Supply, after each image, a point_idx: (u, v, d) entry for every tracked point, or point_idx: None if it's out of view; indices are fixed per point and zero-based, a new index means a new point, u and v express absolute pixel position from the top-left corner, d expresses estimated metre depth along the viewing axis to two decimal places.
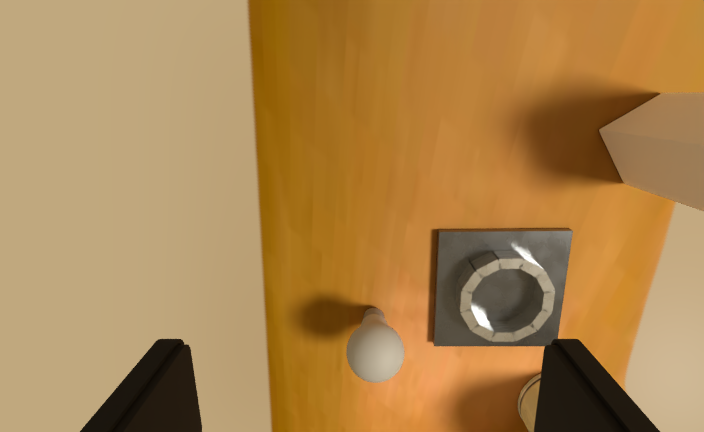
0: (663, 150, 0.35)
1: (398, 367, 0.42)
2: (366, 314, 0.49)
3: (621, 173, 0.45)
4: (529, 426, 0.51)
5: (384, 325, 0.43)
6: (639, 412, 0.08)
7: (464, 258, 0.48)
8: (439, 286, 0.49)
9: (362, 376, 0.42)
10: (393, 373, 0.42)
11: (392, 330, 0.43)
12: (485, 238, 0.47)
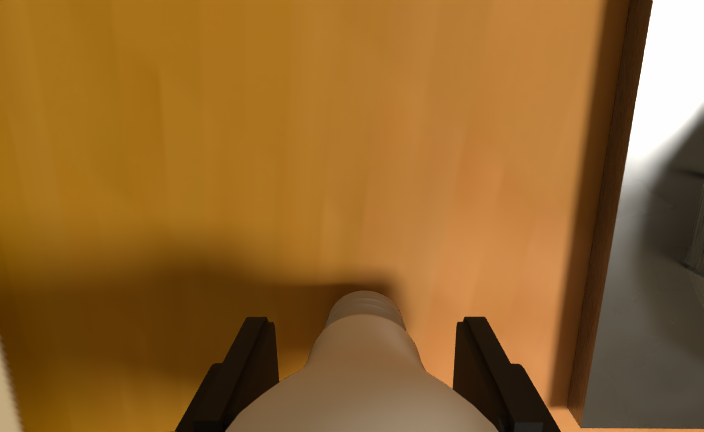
0: None
1: None
2: (335, 315, 0.12)
3: None
4: None
5: (421, 389, 0.07)
6: (513, 375, 0.09)
7: None
8: (630, 201, 0.12)
9: None
10: None
11: (477, 426, 0.06)
12: None
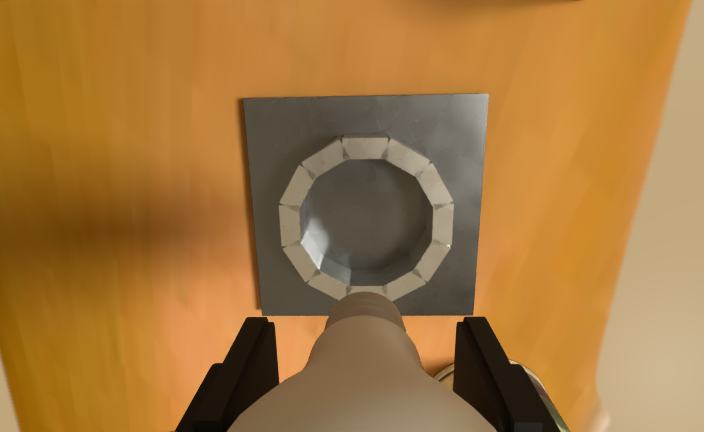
0: None
1: None
2: (335, 316, 0.12)
3: None
4: None
5: (421, 391, 0.07)
6: (513, 375, 0.09)
7: (295, 150, 0.26)
8: (257, 205, 0.27)
9: None
10: None
11: (477, 428, 0.06)
12: (329, 110, 0.25)
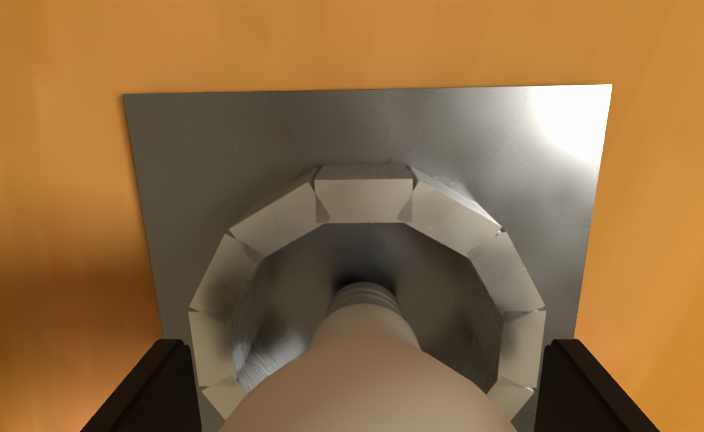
0: None
1: None
2: (334, 306, 0.13)
3: None
4: None
5: (424, 366, 0.07)
6: (639, 412, 0.08)
7: (230, 195, 0.14)
8: (164, 292, 0.15)
9: None
10: None
11: (479, 400, 0.07)
12: (292, 118, 0.13)
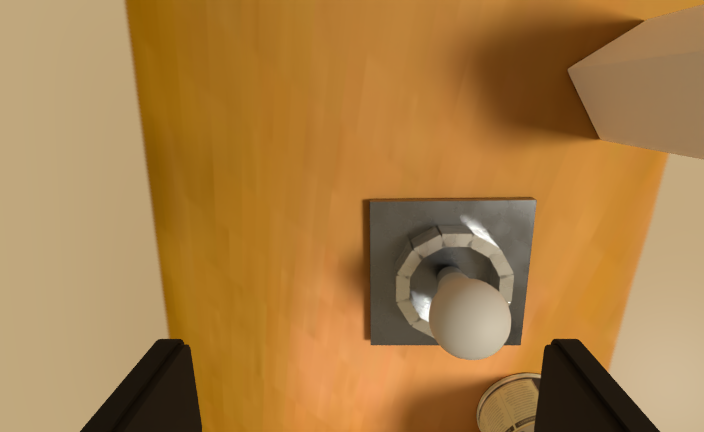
0: (644, 77, 0.26)
1: (506, 338, 0.30)
2: (443, 274, 0.37)
3: (596, 125, 0.35)
4: None
5: (482, 281, 0.31)
6: (639, 412, 0.08)
7: (402, 235, 0.38)
8: (373, 270, 0.39)
9: (456, 350, 0.30)
10: (500, 346, 0.30)
11: None
12: (427, 210, 0.38)
